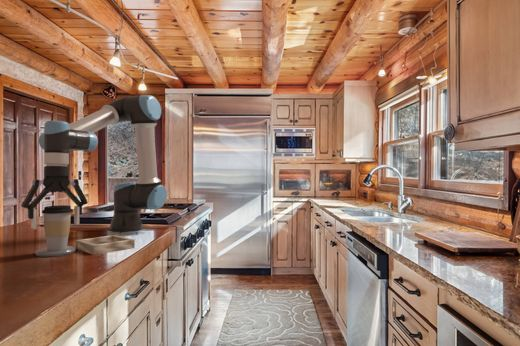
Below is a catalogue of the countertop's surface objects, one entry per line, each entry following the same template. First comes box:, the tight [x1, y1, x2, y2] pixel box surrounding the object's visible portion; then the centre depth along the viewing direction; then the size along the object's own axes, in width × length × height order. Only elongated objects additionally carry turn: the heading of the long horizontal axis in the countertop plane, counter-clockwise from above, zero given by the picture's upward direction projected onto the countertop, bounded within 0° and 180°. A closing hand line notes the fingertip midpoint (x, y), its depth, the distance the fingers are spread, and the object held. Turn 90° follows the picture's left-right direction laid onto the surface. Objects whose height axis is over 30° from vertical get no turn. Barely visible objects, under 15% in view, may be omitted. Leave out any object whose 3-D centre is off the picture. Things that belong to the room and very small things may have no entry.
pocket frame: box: [75, 234, 136, 256], centre depth 129 cm, size 15×15×3 cm
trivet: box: [35, 245, 77, 258], centre depth 121 cm, size 12×12×1 cm
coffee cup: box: [41, 204, 74, 251], centre depth 121 cm, size 9×9×15 cm
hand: (56, 226), depth 121 cm, fingers open, 13 cm apart
